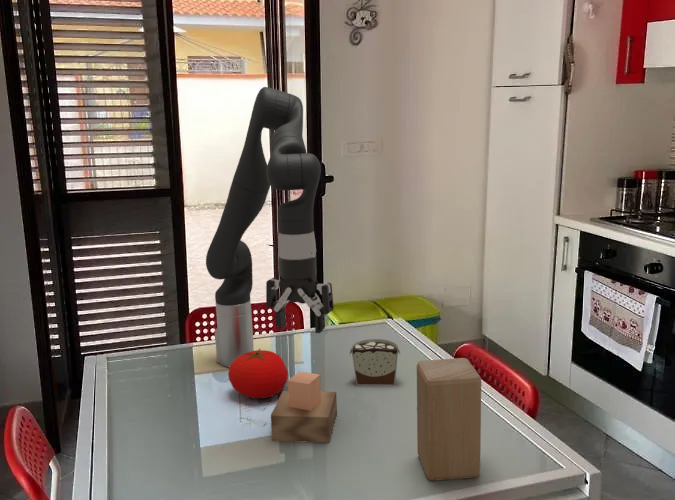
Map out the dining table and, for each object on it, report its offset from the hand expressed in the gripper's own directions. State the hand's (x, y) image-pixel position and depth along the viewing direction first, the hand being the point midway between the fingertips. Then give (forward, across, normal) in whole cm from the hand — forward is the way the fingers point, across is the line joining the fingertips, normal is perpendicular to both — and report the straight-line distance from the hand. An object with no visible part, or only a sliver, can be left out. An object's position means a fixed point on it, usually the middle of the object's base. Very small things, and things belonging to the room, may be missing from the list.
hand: (300, 329), depth 136 cm
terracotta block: (+16, 0, 0) cm, 17 cm away
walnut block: (+23, 0, 0) cm, 23 cm away
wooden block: (+22, +32, -5) cm, 39 cm away
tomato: (+23, -18, +12) cm, 31 cm away
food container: (+22, +6, +28) cm, 37 cm away
